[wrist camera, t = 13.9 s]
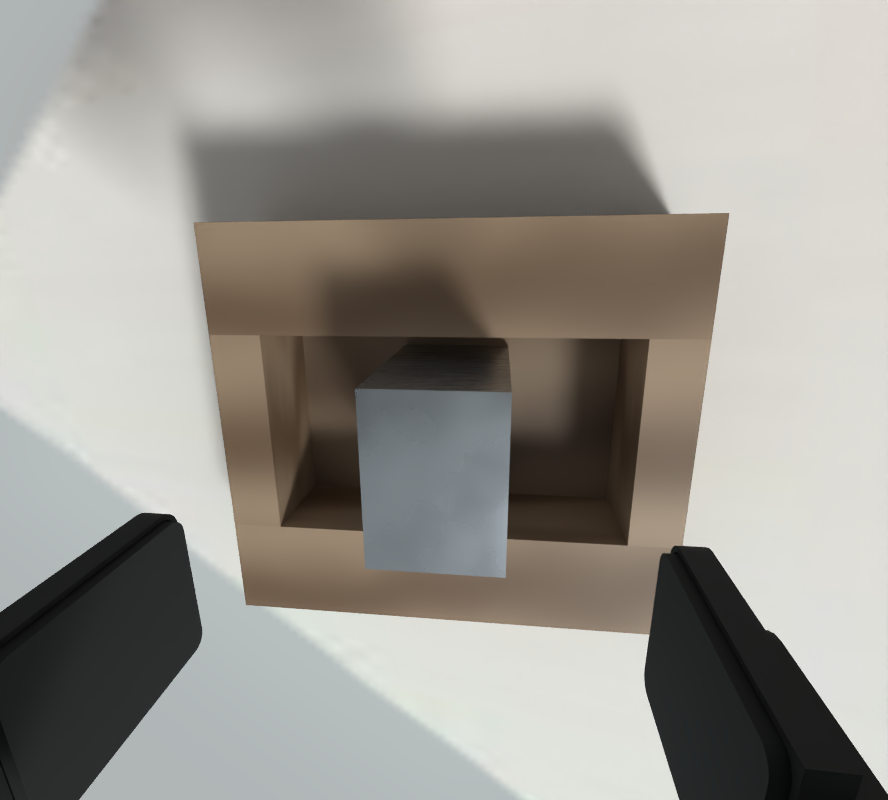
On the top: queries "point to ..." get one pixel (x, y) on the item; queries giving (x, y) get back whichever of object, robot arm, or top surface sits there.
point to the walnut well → (532, 410)
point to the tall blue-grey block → (436, 460)
